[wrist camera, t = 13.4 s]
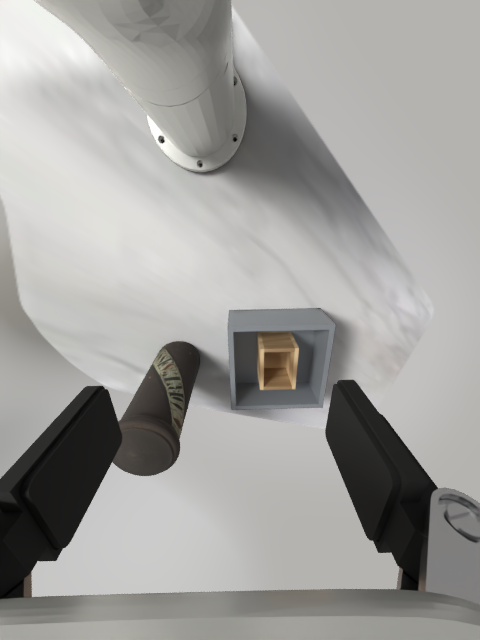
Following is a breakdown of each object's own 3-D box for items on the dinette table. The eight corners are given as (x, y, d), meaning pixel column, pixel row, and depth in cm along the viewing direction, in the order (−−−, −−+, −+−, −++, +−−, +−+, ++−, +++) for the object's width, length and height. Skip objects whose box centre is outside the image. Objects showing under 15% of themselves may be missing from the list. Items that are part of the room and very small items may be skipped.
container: (208, 349, 43) (188, 443, 25) (192, 384, 47) (163, 490, 28) (165, 332, 42) (108, 419, 23) (151, 369, 45) (91, 471, 27)
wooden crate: (257, 332, 41) (260, 349, 36) (290, 331, 41) (299, 348, 36) (257, 369, 44) (259, 390, 39) (288, 368, 44) (295, 389, 39)
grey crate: (229, 310, 40) (227, 327, 34) (320, 308, 40) (335, 324, 34) (232, 383, 47) (231, 409, 40) (310, 381, 47) (322, 407, 40)
